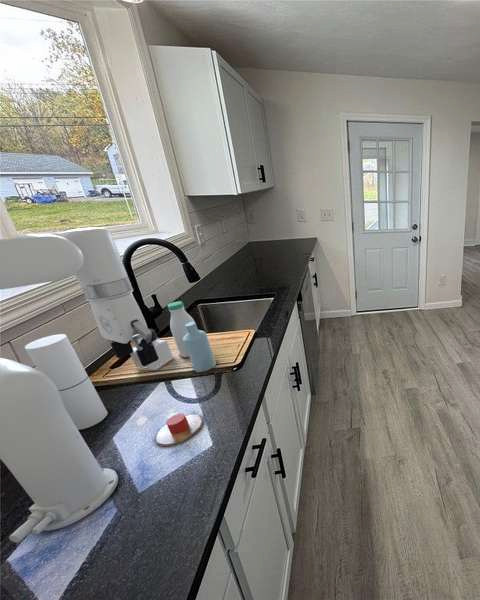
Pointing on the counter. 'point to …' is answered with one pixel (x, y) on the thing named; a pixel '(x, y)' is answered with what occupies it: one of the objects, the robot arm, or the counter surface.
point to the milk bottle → (179, 325)
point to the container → (161, 351)
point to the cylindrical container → (68, 379)
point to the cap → (177, 423)
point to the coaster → (171, 439)
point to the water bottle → (198, 348)
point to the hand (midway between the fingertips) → (137, 359)
